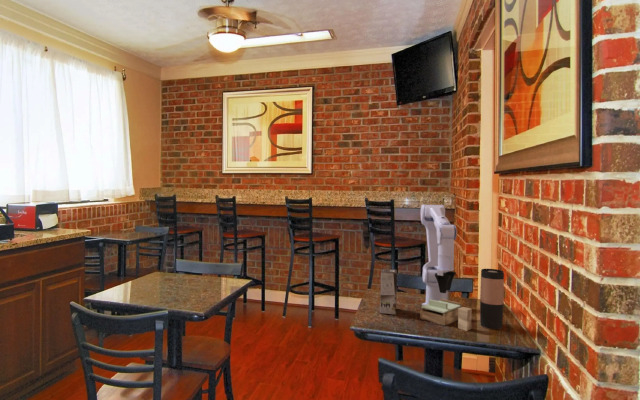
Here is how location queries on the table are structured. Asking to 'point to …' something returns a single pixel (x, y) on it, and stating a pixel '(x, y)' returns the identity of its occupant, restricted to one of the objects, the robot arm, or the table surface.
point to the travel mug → (491, 298)
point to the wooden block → (464, 318)
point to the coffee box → (388, 291)
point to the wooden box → (440, 315)
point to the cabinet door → (440, 306)
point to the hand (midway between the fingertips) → (444, 291)
